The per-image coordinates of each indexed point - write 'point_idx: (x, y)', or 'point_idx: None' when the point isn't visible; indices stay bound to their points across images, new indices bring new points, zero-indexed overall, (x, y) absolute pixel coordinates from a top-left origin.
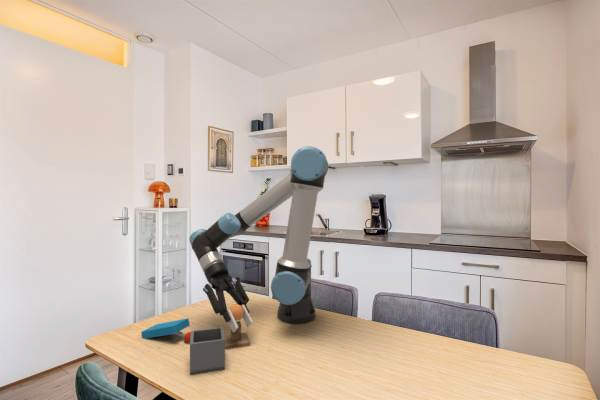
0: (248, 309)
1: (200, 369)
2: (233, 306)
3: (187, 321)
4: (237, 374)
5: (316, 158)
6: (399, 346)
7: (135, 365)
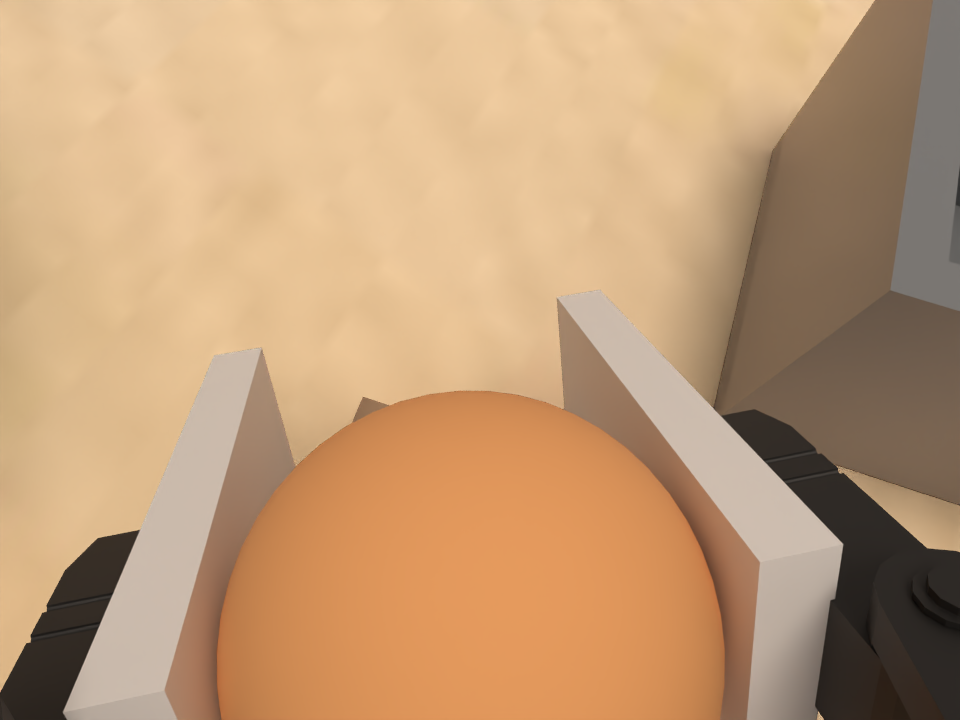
0: (40, 617)
1: None
2: (607, 586)
3: None
4: (700, 38)
5: None
6: None
7: None
